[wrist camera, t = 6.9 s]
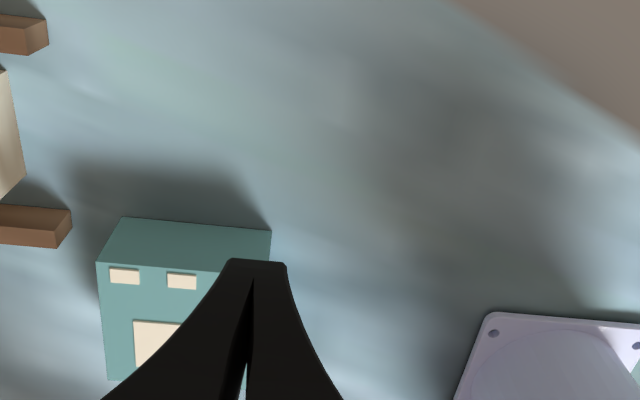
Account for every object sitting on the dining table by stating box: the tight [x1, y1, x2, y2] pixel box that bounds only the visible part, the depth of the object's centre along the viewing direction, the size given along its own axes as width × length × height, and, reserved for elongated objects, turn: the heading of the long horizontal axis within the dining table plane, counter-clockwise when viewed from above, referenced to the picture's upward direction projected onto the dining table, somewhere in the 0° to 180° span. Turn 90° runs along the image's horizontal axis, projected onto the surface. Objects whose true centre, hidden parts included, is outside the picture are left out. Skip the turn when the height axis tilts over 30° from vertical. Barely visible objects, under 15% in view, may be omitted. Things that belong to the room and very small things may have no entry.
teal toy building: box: [95, 217, 272, 390], centre depth 21 cm, size 6×6×3 cm
